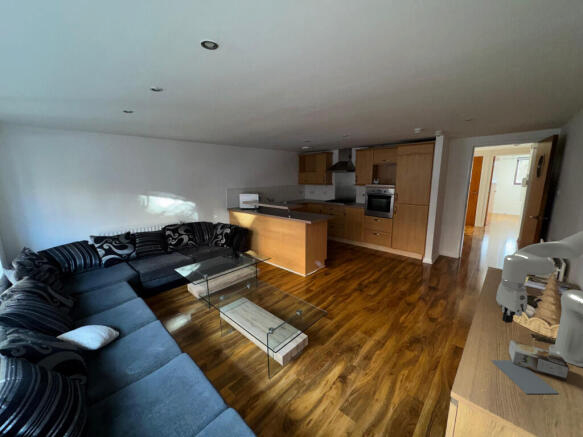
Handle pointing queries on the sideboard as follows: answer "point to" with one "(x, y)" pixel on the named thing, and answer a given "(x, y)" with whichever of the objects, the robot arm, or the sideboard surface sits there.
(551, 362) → the coffee box
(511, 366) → the felt mat
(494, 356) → the sideboard surface
